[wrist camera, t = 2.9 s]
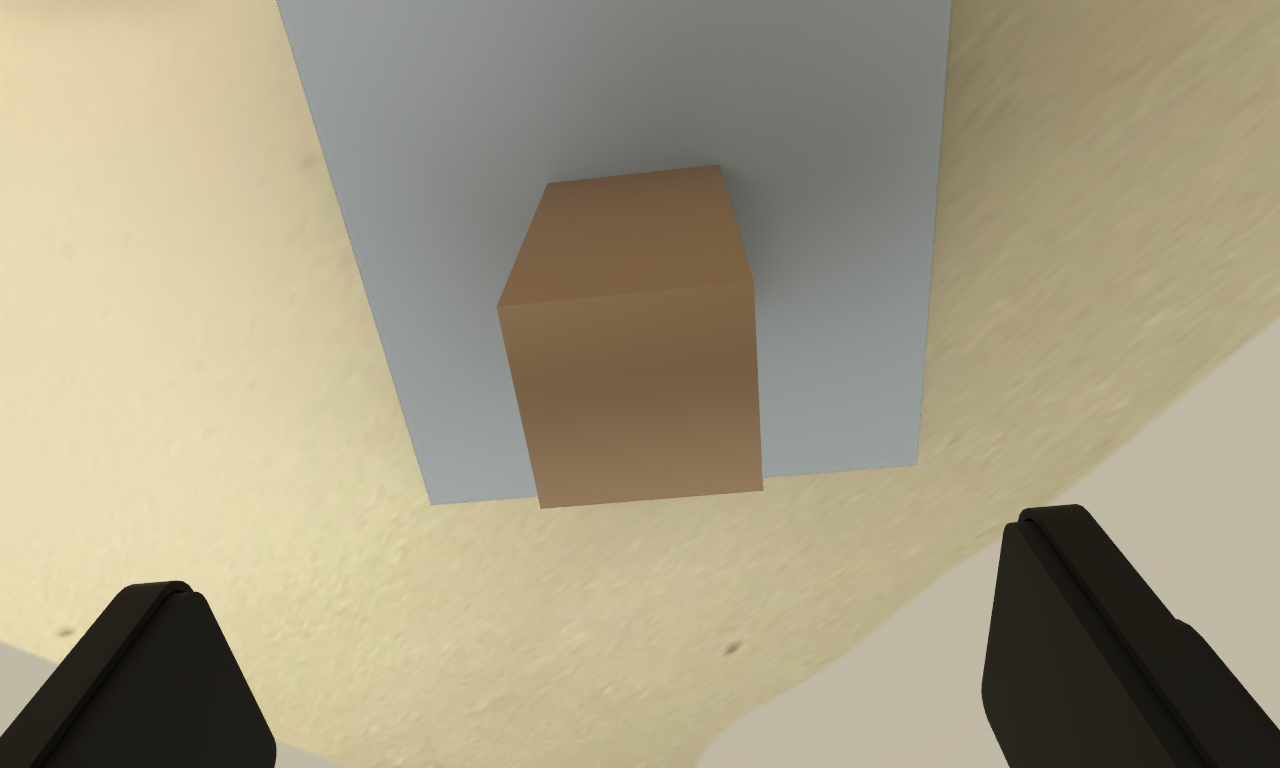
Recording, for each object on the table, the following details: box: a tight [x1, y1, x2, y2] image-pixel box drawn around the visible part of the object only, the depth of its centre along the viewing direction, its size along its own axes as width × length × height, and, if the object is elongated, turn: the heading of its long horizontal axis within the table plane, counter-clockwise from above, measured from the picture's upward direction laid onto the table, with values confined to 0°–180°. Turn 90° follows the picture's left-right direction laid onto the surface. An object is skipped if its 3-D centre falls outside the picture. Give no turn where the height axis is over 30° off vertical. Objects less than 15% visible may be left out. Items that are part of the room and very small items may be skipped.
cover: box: [276, 0, 952, 509], centre depth 17 cm, size 14×14×8 cm
